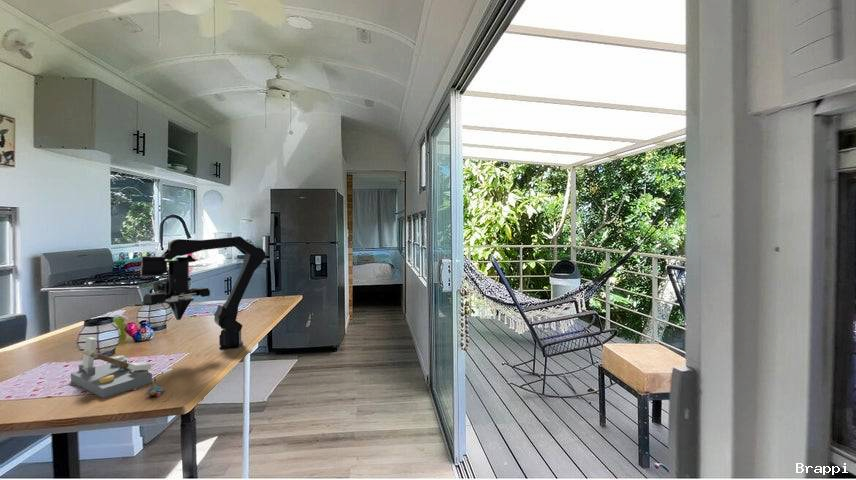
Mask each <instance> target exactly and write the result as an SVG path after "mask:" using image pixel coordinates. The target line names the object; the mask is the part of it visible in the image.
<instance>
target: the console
mask: <svg viewBox="0 0 856 480" xmlns="http://www.w3.org/2000/svg"><path fill="white" fill-rule="evenodd" d="M121 361H122V362H125V363H128V364H129V363H130V362H128V359H125V358H124V360H121ZM70 382H72V383H73V384H75V385H77V386H78V387H81V388H83V389H85V390H86V391H88V392H90V393H92V394H94V395H96V396H98V397H100V398H102V399H105V398H108V397H111V396H114V395H116V394H120V393H123V392H126V391H129V390H133V389H136V388H140V387H141V386H146V385H148V384H151V383H153V373H151V372H149V370H137V371H134V370H131V369H129V368H128V367H127V368H124V367H121V366H111V363H109V362H107V363H105V364H101V365H97V366H95V365H93V367H89V368H87V369H86V368H84V366H82V363H80V364H78V371H75V372H71V373H70Z"/></svg>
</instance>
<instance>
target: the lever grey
mask: <svg viewBox="0 0 856 480" xmlns="http://www.w3.org/2000/svg"><path fill="white" fill-rule="evenodd" d="M97 341H98V339H97V338H95V337H92V336H90V337H86V338H85V343H84V345H85V346H84V350H83V358H82V363H81V364H82V366H84V368H86V369H87V368H89V367H93V366H94V362H95V358H93V357H90V356H87V355H85V354H84V352H85V351H86V350H90V351H93V352H96V350H97V349H96V348H97Z"/></svg>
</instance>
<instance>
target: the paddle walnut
mask: <svg viewBox="0 0 856 480" xmlns="http://www.w3.org/2000/svg"><path fill="white" fill-rule="evenodd" d="M84 354H85V355H87V356H90V357H93V358H94V359H97V360H100V361H104V362H106V363H112V364H115V365H118V366H121V367H124V368H127V367H128V366H129V364H128V363H125V362H122V361H119V360H116V359H113V358H112V357H110V356H107V355H104V354H101V353H98V352H96V351H95V352H93V351H90V350H86V351H85V352H84V351H83V355H84Z"/></svg>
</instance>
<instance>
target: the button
mask: <svg viewBox="0 0 856 480" xmlns="http://www.w3.org/2000/svg"><path fill="white" fill-rule="evenodd" d="M111 358H113V359H116V360H119V361H121V360H125V355H116V356H112V357H111ZM111 366H118V365H115V364H112V363H111Z"/></svg>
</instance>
